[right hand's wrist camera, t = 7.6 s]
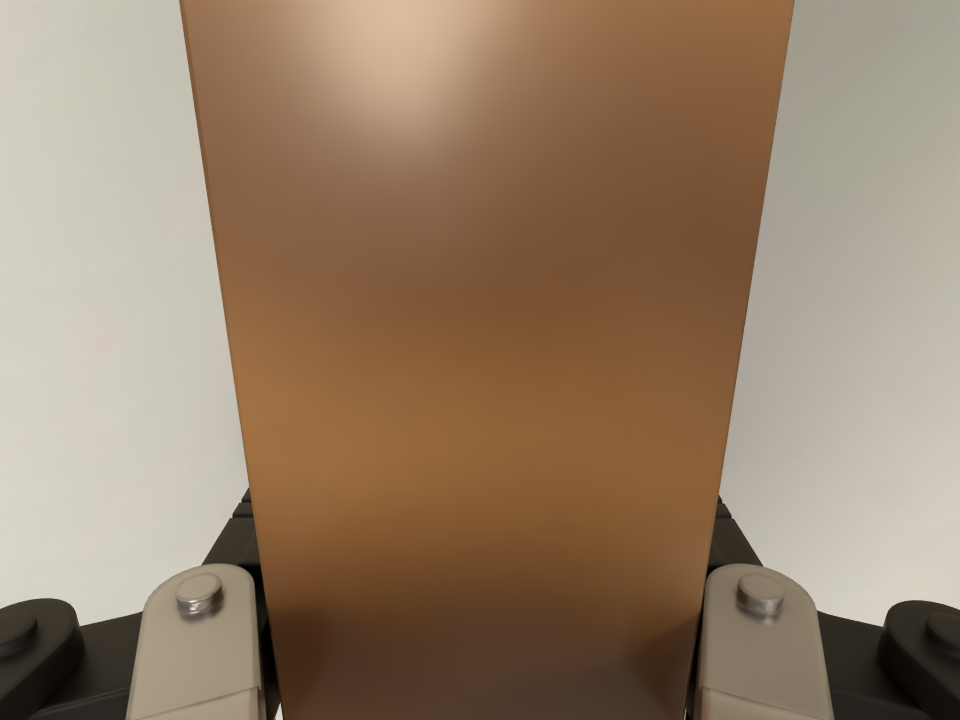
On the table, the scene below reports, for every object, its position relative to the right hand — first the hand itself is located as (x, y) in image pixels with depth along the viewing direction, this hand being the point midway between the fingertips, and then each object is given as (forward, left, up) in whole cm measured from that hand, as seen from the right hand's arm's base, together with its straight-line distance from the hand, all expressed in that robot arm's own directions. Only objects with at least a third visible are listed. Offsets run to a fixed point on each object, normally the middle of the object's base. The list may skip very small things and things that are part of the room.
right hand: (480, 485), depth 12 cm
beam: (+15, -25, -3) cm, 29 cm away
